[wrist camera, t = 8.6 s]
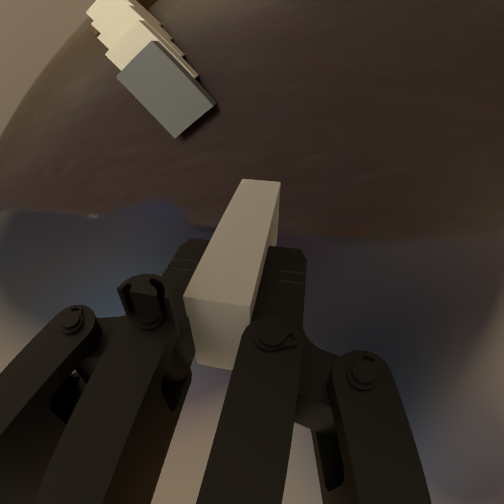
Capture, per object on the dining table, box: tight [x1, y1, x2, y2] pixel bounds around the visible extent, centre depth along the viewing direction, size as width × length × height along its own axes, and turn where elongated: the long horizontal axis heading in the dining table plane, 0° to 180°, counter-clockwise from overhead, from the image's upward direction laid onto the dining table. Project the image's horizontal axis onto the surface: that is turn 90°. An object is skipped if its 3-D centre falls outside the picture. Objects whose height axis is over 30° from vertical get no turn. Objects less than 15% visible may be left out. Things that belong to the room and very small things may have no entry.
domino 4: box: [91, 0, 173, 40], centre depth 25 cm, size 2×5×9 cm
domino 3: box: [97, 5, 185, 57], centre depth 25 cm, size 2×5×9 cm
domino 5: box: [86, 0, 162, 26], centre depth 26 cm, size 2×5×9 cm
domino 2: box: [105, 20, 199, 78], centre depth 25 cm, size 2×5×9 cm
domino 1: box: [116, 41, 217, 138], centre depth 25 cm, size 2×5×9 cm
